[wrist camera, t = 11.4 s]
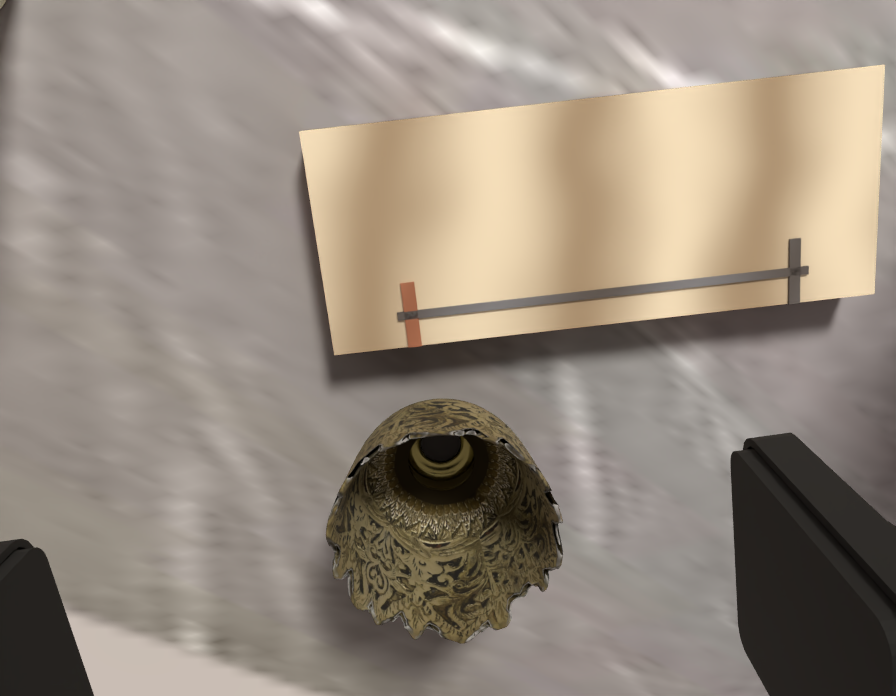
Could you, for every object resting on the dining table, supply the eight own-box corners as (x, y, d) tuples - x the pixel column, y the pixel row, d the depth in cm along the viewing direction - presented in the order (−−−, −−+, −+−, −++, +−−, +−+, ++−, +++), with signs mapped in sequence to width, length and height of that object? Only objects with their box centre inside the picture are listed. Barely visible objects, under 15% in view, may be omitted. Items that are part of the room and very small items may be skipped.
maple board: (853, 68, 29) (886, 64, 27) (846, 282, 31) (875, 294, 29) (307, 130, 29) (298, 131, 27) (339, 340, 31) (334, 355, 29)
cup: (433, 556, 34) (436, 685, 26) (311, 439, 32) (276, 540, 24) (567, 447, 33) (611, 549, 25) (447, 319, 31) (455, 386, 23)
